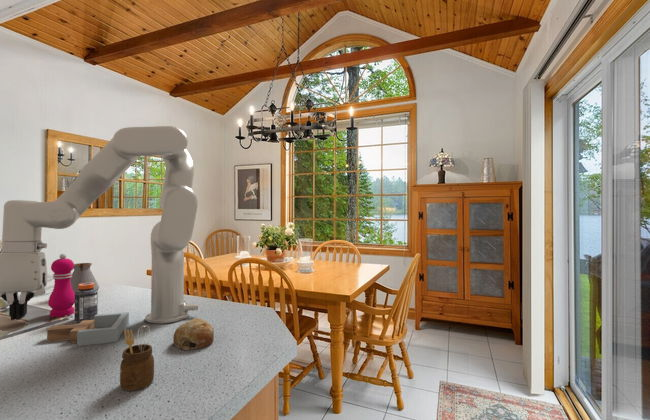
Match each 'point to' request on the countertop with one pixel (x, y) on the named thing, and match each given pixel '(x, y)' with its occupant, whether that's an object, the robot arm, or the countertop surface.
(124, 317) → the pocket
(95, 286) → the coffee pot
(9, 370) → the countertop surface
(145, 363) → the utensil holder
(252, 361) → the countertop surface
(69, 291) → the pepper mill
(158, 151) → the robot arm
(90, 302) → the pill bottle
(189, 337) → the bread roll
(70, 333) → the T block
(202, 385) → the countertop surface
